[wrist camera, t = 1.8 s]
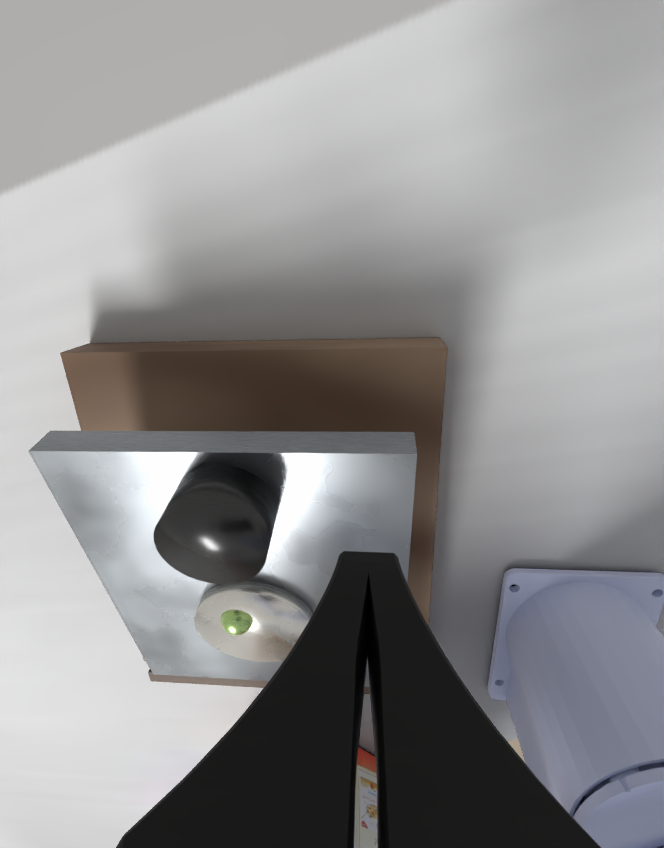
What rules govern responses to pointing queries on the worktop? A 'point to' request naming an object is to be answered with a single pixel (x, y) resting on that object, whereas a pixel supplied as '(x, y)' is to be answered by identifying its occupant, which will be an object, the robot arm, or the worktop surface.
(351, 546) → the plate
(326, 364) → the base
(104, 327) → the worktop surface
